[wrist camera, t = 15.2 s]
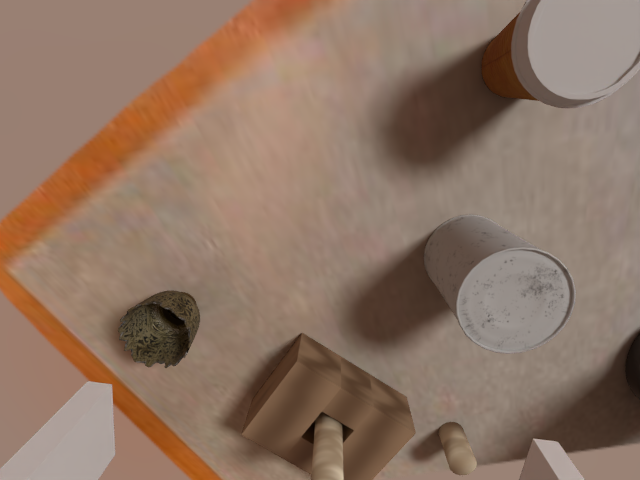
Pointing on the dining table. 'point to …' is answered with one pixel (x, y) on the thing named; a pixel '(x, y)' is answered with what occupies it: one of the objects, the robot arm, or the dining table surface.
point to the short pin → (457, 449)
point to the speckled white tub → (499, 284)
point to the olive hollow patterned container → (161, 328)
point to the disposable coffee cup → (565, 51)
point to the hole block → (328, 411)
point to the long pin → (327, 449)
